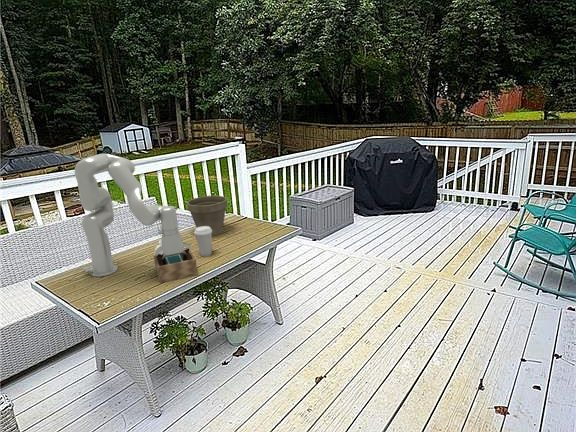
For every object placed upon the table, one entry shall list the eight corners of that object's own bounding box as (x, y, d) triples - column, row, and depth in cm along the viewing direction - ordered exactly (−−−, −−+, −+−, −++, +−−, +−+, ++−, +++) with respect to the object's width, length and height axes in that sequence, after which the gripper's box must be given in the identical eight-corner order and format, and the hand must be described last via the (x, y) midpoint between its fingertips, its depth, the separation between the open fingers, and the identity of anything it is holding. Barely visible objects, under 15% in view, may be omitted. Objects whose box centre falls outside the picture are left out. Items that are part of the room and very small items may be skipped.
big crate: (160, 282, 188) (157, 267, 186) (155, 270, 202) (153, 255, 200) (197, 274, 196) (195, 259, 193) (190, 262, 209) (189, 248, 207)
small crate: (170, 276, 192) (168, 264, 191) (166, 267, 202) (165, 257, 200) (184, 273, 195) (183, 261, 193) (180, 264, 205) (179, 254, 203)
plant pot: (189, 229, 262) (185, 197, 255) (226, 224, 269) (223, 193, 262) (192, 241, 239) (188, 207, 232) (232, 236, 246) (229, 202, 239)
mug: (159, 264, 209) (156, 246, 206) (152, 260, 214) (149, 242, 211) (179, 257, 217) (177, 240, 214) (172, 253, 222) (169, 236, 219)
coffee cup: (197, 258, 215) (194, 232, 210) (196, 251, 224) (193, 226, 219) (215, 255, 217) (212, 230, 212) (213, 249, 226) (211, 224, 221)
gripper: (153, 236, 186) (158, 270, 191) (190, 230, 192) (194, 262, 198) (151, 232, 192) (156, 264, 197) (186, 226, 199) (190, 257, 204)
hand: (175, 263), depth 197 cm, fingers open, 9 cm apart
